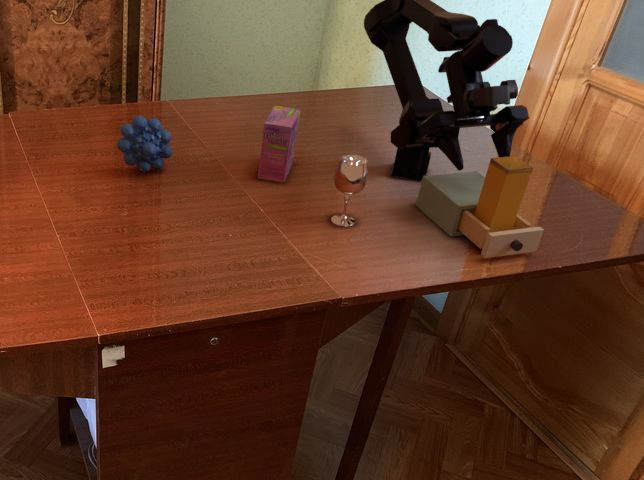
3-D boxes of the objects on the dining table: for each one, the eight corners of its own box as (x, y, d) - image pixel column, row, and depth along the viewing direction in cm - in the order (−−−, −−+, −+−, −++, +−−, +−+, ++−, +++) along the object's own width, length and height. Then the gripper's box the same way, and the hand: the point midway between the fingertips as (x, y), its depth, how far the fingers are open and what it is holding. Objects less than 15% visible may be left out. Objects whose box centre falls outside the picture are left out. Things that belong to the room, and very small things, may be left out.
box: (284, 183, 153) (292, 126, 146) (257, 179, 154) (263, 122, 147) (293, 163, 161) (301, 108, 153) (267, 159, 162) (273, 105, 155)
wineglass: (360, 216, 142) (372, 156, 135) (356, 230, 138) (368, 169, 131) (330, 211, 144) (340, 151, 136) (324, 224, 139) (334, 163, 132)
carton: (486, 239, 133) (508, 170, 125) (470, 226, 136) (490, 158, 128) (509, 236, 134) (533, 167, 126) (493, 223, 137) (515, 155, 129)
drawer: (540, 254, 131) (548, 232, 128) (488, 261, 129) (495, 239, 126) (497, 220, 141) (504, 199, 138) (448, 226, 138) (454, 205, 136)
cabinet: (505, 230, 140) (515, 200, 136) (450, 236, 137) (459, 206, 133) (468, 199, 149) (476, 170, 146) (415, 205, 147) (422, 176, 143)
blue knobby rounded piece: (124, 184, 150) (122, 126, 143) (114, 170, 155) (112, 113, 148) (178, 177, 154) (180, 119, 146) (167, 163, 159) (168, 107, 151)
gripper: (444, 65, 126) (463, 154, 124) (540, 59, 130) (559, 145, 129) (411, 95, 137) (428, 178, 135) (500, 89, 141) (517, 169, 140)
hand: (483, 167), depth 134 cm, fingers open, 9 cm apart
